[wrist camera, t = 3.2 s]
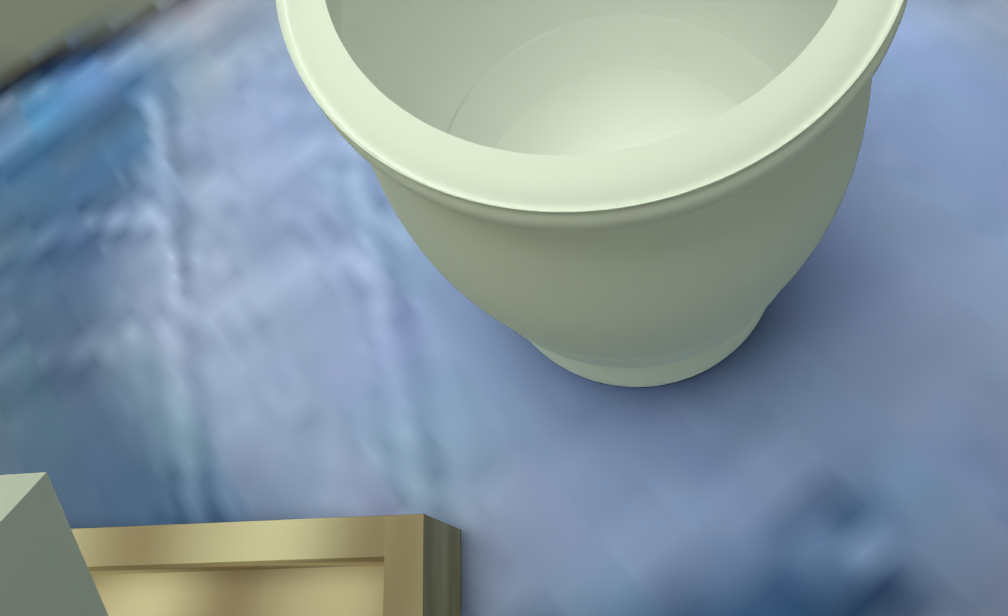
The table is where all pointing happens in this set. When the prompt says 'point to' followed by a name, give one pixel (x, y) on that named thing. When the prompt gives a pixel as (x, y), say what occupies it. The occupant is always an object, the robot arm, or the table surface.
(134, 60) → the table surface
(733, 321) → the jar
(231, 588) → the holder
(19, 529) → the robot arm
